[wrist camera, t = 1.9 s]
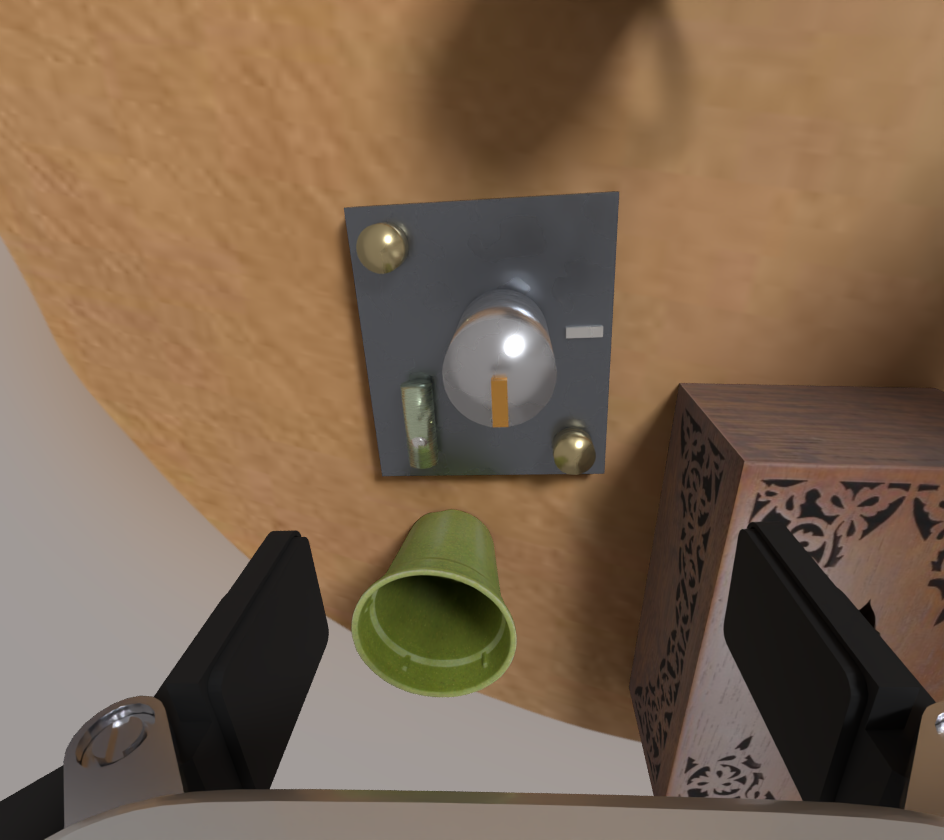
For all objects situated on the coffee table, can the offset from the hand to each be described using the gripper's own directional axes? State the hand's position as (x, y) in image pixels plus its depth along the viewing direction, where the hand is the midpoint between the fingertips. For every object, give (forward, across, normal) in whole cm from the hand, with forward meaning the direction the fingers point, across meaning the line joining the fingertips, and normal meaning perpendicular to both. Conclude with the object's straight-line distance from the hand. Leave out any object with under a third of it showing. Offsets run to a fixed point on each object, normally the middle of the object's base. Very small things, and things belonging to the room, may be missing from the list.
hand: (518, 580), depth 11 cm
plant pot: (+22, +5, +15) cm, 27 cm away
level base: (+21, +1, 0) cm, 21 cm away
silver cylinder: (+20, 0, 0) cm, 20 cm away
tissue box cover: (+22, -16, +17) cm, 32 cm away
